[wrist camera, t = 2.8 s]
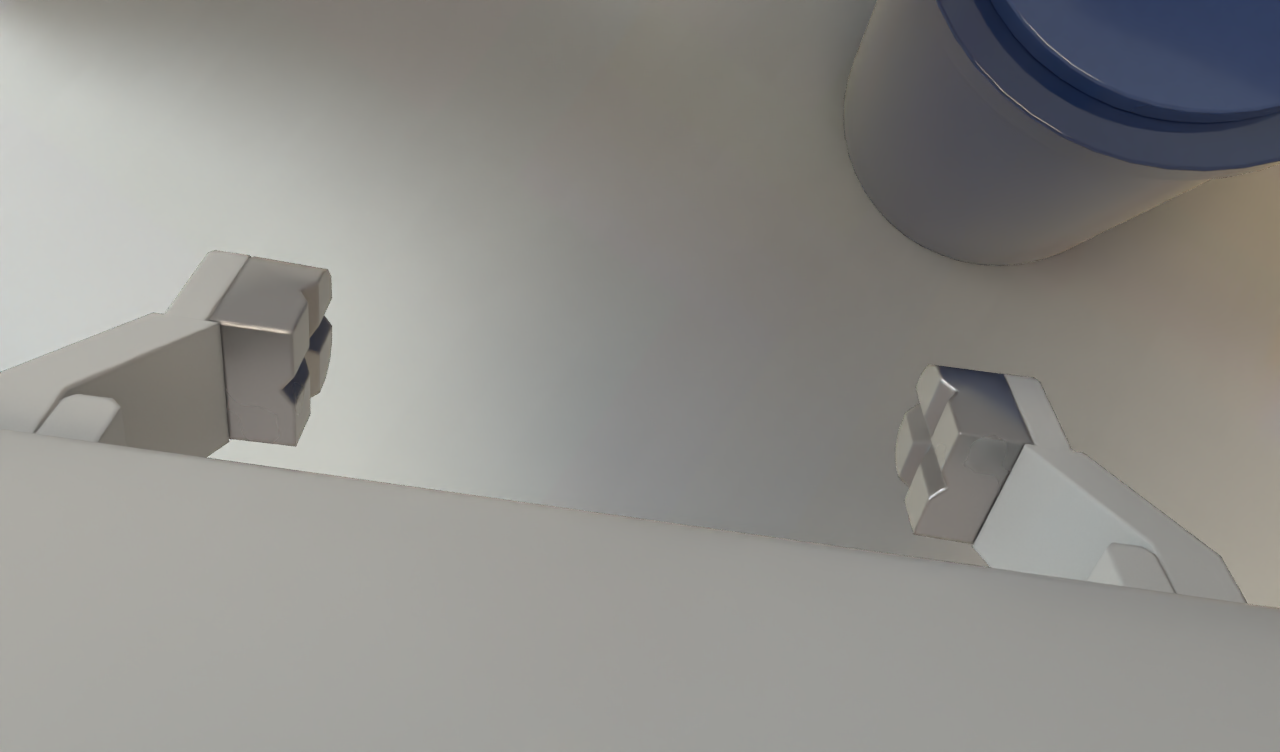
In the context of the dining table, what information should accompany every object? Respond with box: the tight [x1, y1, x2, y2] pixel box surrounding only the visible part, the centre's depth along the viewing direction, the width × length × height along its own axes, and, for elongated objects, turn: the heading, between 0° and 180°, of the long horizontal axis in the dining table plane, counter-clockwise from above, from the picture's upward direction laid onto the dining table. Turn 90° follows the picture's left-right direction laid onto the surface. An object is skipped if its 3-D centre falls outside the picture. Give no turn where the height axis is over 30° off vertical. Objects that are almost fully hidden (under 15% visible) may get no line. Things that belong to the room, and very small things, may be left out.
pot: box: [843, 0, 1280, 266], centre depth 30 cm, size 12×12×17 cm
